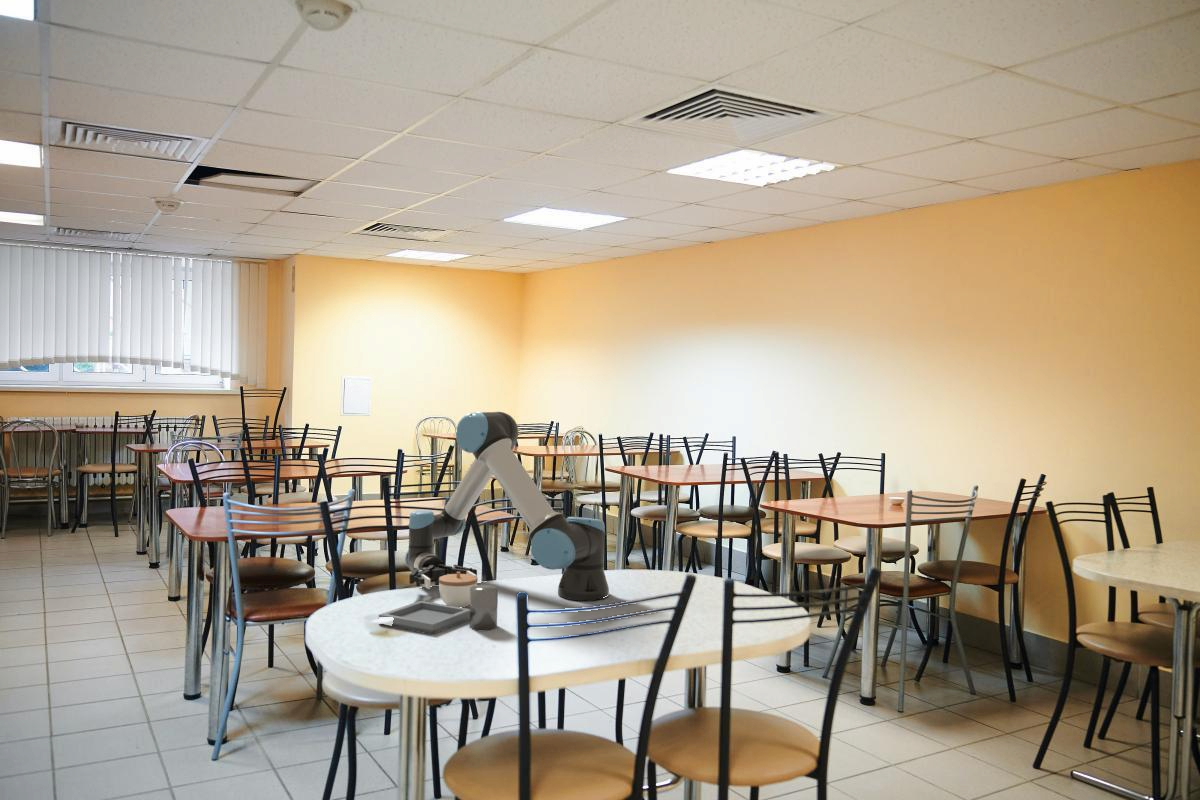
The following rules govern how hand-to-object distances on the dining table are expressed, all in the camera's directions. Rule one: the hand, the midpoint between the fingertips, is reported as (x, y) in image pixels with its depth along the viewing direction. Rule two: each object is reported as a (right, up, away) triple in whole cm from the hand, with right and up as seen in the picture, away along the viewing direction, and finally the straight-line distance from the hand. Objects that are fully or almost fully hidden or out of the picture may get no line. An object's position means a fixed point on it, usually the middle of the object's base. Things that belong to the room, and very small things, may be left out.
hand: (452, 582), depth 248 cm
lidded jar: (+2, -6, -3) cm, 7 cm away
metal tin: (+12, -7, -23) cm, 27 cm away
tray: (-3, -6, -20) cm, 21 cm away
